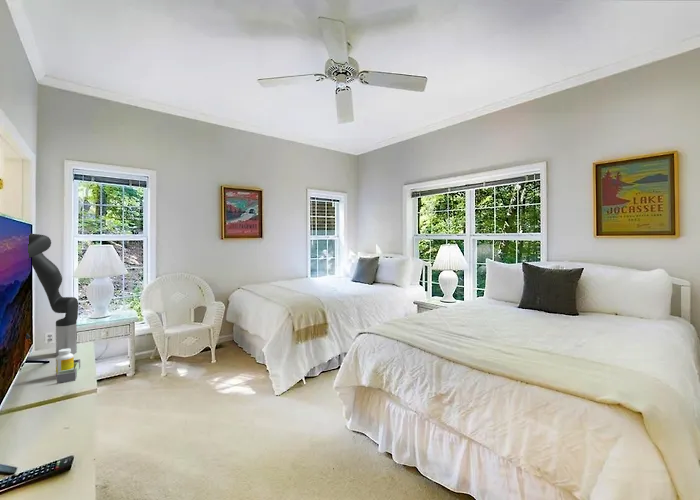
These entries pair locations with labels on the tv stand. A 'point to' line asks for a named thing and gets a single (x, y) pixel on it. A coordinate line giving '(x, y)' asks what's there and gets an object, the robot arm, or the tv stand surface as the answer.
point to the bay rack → (69, 373)
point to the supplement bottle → (64, 360)
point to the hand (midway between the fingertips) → (27, 338)
